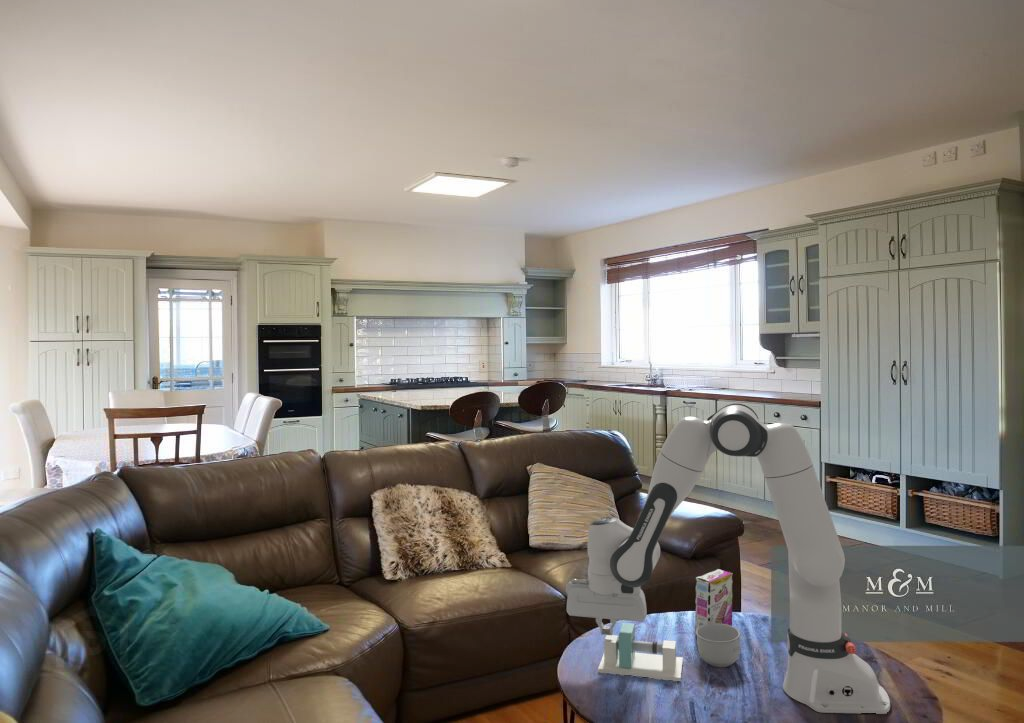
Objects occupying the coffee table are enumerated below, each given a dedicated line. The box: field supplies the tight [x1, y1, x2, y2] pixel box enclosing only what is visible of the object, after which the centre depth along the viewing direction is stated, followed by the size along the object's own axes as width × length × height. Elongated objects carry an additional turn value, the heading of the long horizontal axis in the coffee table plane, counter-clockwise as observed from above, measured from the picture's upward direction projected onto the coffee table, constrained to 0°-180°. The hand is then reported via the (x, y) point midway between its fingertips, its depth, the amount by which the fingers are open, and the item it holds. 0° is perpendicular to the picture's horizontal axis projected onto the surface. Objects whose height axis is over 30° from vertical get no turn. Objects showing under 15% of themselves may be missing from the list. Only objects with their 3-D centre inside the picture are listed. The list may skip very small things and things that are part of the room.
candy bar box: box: [694, 568, 733, 636], centre depth 201 cm, size 11×5×16 cm, turn 130°
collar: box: [618, 622, 636, 668], centre depth 183 cm, size 3×8×8 cm, turn 164°
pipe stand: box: [597, 634, 684, 683], centre depth 183 cm, size 20×11×7 cm, turn 74°
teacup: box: [695, 621, 741, 668], centre depth 186 cm, size 14×11×8 cm
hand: (606, 634), depth 185 cm, fingers closed
